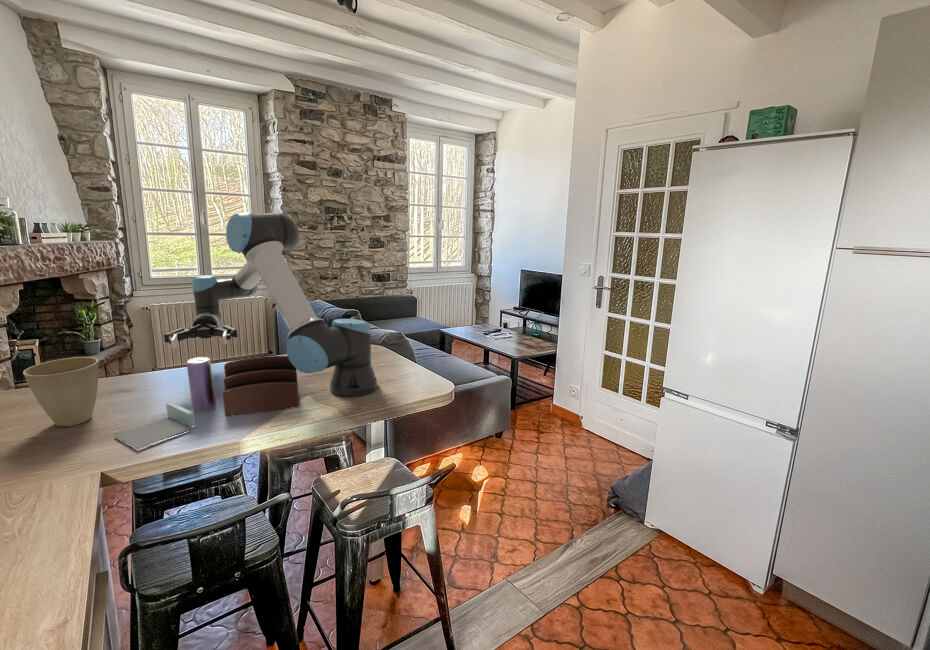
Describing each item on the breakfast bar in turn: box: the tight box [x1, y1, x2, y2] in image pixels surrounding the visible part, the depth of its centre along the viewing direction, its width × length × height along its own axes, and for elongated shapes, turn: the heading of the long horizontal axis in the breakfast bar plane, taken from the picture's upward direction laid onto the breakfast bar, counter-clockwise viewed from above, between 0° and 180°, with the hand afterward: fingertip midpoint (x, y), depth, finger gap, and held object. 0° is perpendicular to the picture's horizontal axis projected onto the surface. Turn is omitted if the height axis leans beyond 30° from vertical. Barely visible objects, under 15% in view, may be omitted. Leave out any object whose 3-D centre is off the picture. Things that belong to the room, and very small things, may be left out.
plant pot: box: [22, 356, 99, 427], centre depth 121 cm, size 15×15×16 cm
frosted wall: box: [165, 401, 196, 428], centre depth 123 cm, size 12×1×4 cm, turn 58°
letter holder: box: [222, 355, 300, 417], centre depth 133 cm, size 10×20×14 cm, turn 112°
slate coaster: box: [114, 417, 190, 449], centre depth 116 cm, size 12×12×1 cm
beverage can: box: [186, 356, 217, 413], centre depth 130 cm, size 6×6×15 cm
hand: (199, 342), depth 136 cm, fingers open, 13 cm apart
